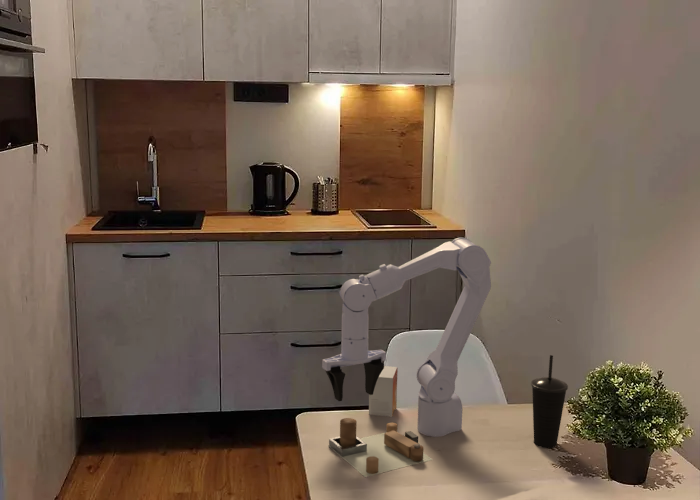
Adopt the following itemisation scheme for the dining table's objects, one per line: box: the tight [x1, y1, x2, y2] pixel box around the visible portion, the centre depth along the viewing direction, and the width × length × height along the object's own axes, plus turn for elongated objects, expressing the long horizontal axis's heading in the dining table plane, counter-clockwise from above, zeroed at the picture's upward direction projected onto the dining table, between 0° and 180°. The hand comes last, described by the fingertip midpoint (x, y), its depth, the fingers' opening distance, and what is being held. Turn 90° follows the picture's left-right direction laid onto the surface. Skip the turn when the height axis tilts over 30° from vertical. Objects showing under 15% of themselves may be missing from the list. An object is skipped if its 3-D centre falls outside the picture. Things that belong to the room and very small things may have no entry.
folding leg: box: [383, 430, 425, 461], centre depth 165 cm, size 10×3×3 cm, turn 36°
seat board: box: [328, 422, 434, 478], centre depth 165 cm, size 16×16×4 cm
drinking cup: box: [530, 354, 569, 449], centre depth 171 cm, size 8×8×20 cm
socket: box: [328, 435, 367, 458], centre depth 166 cm, size 6×6×2 cm
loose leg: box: [339, 417, 358, 448], centre depth 166 cm, size 3×3×6 cm
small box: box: [368, 365, 399, 418], centre depth 186 cm, size 8×6×10 cm
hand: (354, 396), depth 172 cm, fingers open, 7 cm apart
